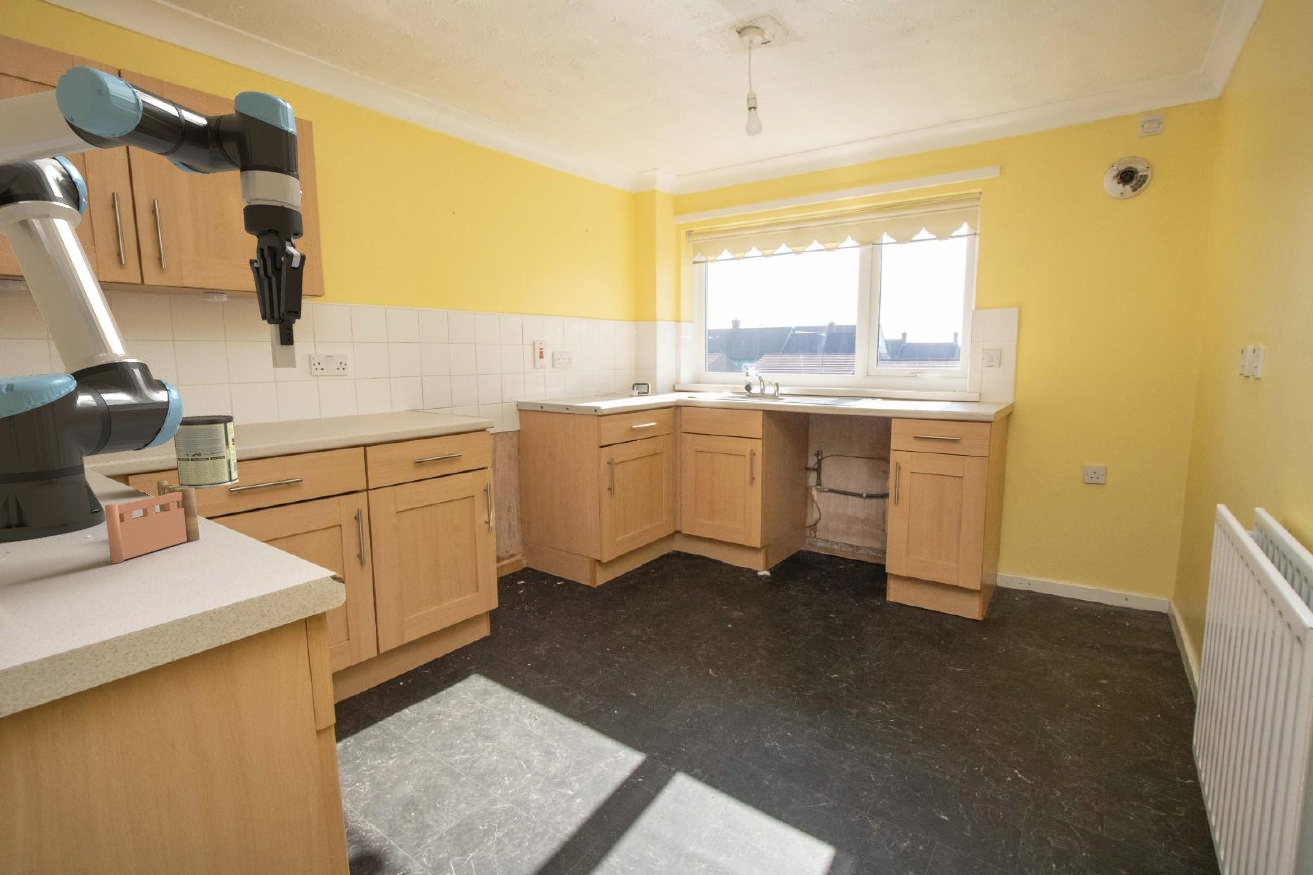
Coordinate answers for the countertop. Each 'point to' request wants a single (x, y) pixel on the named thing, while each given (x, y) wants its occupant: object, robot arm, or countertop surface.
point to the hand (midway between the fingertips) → (284, 367)
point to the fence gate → (144, 526)
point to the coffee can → (206, 452)
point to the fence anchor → (186, 503)
